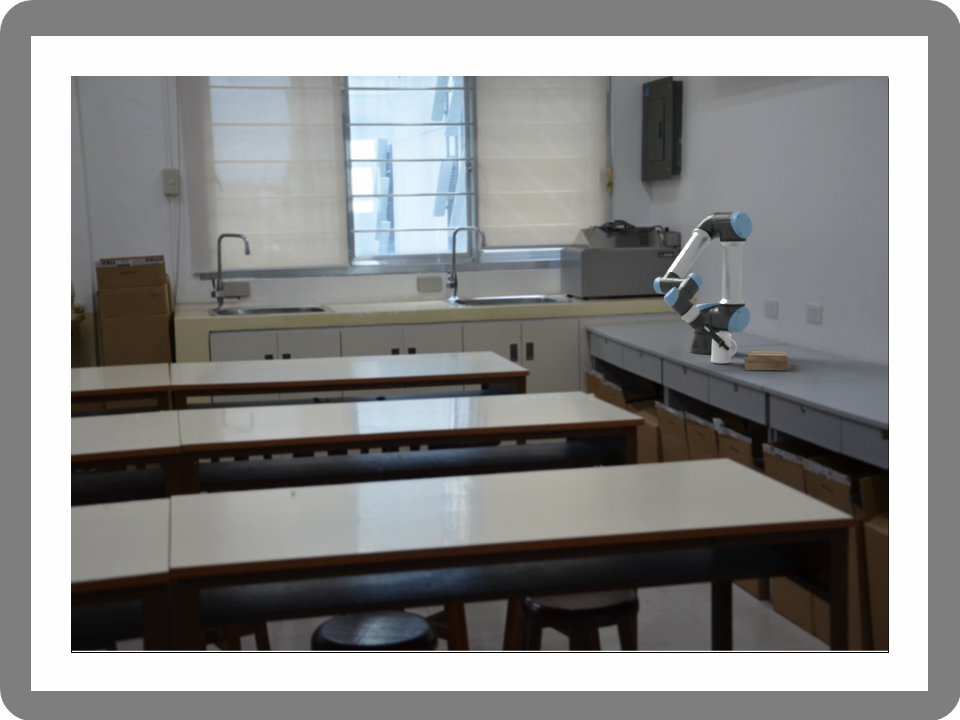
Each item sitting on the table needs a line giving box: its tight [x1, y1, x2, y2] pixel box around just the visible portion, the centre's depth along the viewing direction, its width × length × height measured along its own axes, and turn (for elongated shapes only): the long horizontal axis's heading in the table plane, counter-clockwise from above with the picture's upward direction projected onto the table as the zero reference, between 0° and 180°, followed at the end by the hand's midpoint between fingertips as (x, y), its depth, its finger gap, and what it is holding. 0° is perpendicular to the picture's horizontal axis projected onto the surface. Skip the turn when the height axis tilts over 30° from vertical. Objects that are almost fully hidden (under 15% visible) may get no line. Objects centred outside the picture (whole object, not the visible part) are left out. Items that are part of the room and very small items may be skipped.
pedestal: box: [743, 349, 792, 372], centre depth 400 cm, size 19×18×6 cm
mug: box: [710, 332, 738, 364], centre depth 412 cm, size 12×8×12 cm
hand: (731, 353), depth 413 cm, fingers closed on mug, 9 cm apart
